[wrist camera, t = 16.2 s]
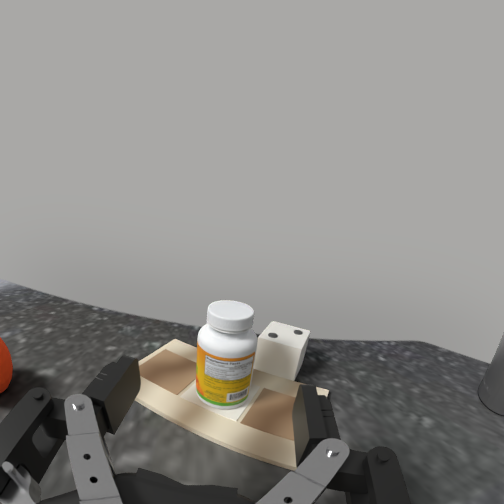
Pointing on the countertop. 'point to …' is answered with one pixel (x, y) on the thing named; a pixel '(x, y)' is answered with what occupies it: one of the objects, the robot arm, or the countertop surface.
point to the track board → (222, 420)
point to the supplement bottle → (226, 355)
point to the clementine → (5, 366)
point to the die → (281, 350)
